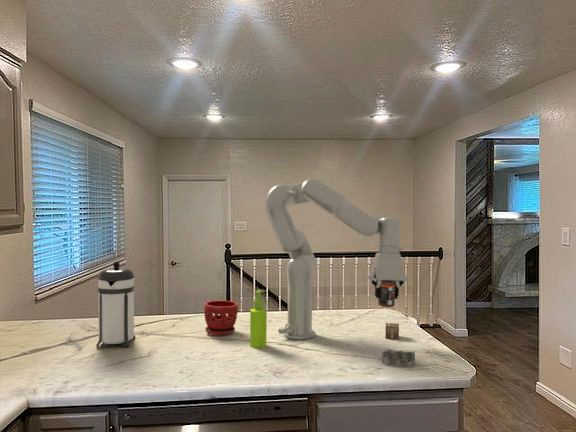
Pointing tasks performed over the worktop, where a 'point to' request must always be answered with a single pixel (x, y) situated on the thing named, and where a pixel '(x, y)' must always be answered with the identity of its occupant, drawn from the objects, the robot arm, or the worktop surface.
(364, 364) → the worktop surface
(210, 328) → the plant pot
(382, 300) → the supplement bottle
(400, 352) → the egg carton
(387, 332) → the letter t block
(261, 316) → the soap dispenser
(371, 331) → the worktop surface
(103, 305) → the coffee press
